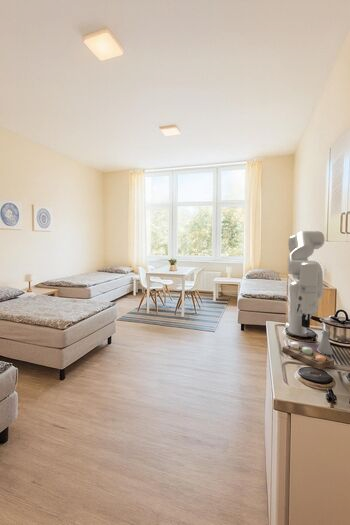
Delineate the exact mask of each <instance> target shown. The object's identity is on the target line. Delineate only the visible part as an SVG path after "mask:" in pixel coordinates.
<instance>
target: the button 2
mask: <svg viewBox="0 0 350 525" xmlns="http://www.w3.org/2000/svg"><path fill="white" fill-rule="evenodd" d="M312 350H313V349H312V348H311V347H308V346H303V348H302V353H303V354H305V355H307V356H309V355H312Z"/></svg>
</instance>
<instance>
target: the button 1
mask: <svg viewBox="0 0 350 525" xmlns="http://www.w3.org/2000/svg"><path fill="white" fill-rule="evenodd" d="M289 345H290V348H292V349H294V350H297V349H299V345H300V343H299V342H297V341H290V343H289Z"/></svg>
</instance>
